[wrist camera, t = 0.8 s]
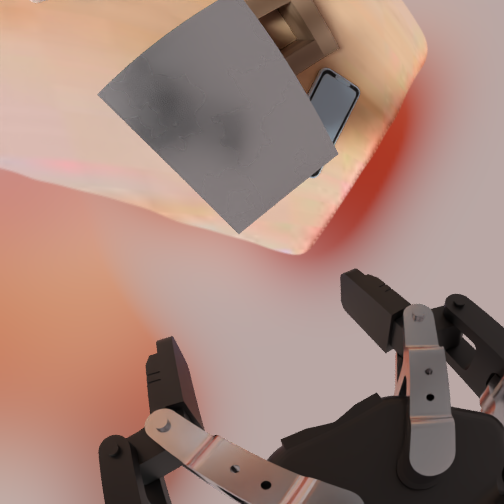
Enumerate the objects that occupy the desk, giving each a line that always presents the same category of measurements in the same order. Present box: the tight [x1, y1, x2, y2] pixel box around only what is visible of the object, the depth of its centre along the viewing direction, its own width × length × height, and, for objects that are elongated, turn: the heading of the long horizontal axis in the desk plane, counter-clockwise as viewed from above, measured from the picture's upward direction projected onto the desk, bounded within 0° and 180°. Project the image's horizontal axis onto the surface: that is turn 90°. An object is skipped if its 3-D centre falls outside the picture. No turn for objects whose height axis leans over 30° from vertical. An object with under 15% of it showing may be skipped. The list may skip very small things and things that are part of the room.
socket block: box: [244, 0, 339, 76], centre depth 26 cm, size 10×14×4 cm
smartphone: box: [307, 68, 360, 178], centre depth 37 cm, size 7×1×15 cm
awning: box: [97, 0, 338, 234], centre depth 22 cm, size 13×9×17 cm
